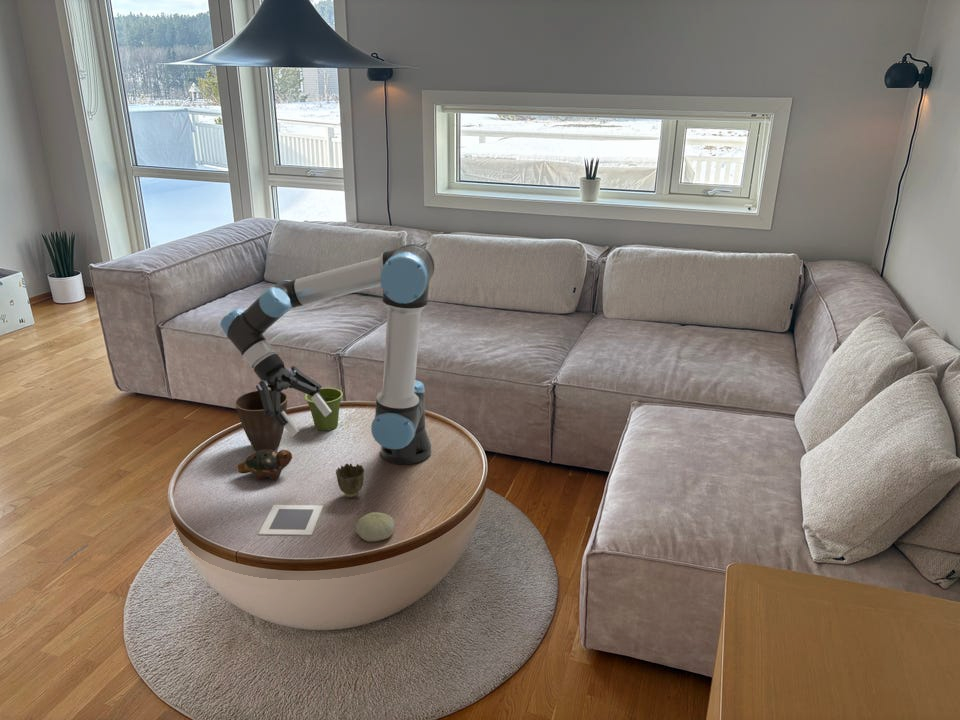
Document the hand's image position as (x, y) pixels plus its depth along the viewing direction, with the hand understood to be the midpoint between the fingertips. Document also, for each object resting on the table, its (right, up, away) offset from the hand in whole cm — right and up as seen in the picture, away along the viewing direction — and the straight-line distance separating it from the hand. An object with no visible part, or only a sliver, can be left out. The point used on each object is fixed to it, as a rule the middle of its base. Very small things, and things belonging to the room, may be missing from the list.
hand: (312, 423), depth 190 cm
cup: (+10, -20, +2) cm, 22 cm away
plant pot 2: (-5, -5, +42) cm, 42 cm away
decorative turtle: (-16, -16, +12) cm, 25 cm away
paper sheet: (-3, -24, -9) cm, 25 cm away
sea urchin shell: (+19, -26, -14) cm, 35 cm away
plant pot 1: (-21, -10, +28) cm, 36 cm away
